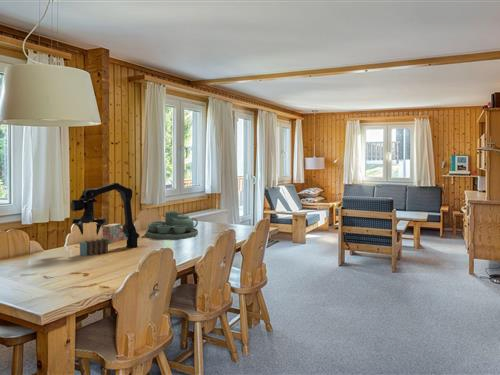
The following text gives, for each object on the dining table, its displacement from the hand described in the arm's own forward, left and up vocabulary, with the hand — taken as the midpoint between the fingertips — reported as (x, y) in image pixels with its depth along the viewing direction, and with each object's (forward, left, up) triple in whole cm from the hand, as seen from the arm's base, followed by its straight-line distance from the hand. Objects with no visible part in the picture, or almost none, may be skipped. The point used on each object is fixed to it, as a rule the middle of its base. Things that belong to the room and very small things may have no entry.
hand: (89, 234), depth 267 cm
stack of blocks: (-15, -38, -12) cm, 42 cm away
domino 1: (0, +4, -12) cm, 12 cm away
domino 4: (-9, -2, -11) cm, 14 cm away
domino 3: (-6, 0, -11) cm, 13 cm away
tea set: (-57, -55, -12) cm, 80 cm away
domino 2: (-3, +2, -11) cm, 12 cm away
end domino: (+3, +6, -11) cm, 13 cm away
